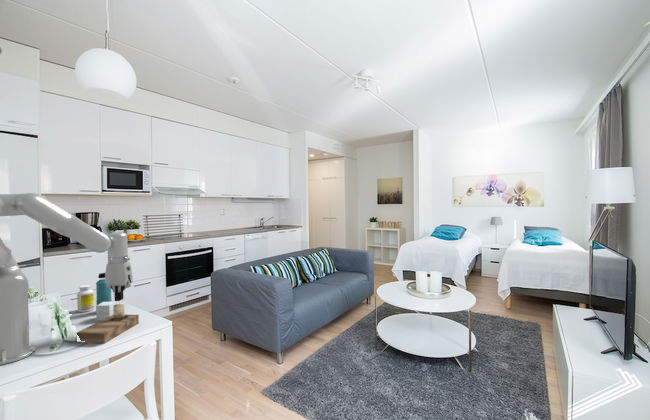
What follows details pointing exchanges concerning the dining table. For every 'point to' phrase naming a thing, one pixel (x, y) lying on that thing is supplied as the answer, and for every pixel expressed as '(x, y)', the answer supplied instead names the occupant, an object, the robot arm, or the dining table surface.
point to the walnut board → (107, 329)
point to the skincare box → (105, 310)
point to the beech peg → (118, 312)
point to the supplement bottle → (85, 299)
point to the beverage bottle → (102, 290)
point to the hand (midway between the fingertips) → (119, 300)
